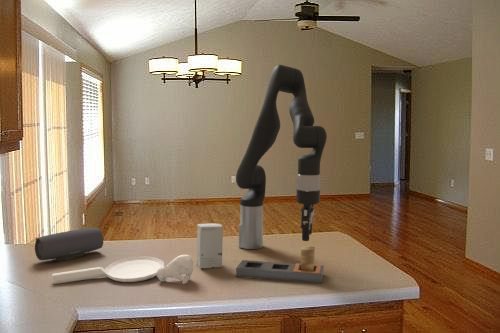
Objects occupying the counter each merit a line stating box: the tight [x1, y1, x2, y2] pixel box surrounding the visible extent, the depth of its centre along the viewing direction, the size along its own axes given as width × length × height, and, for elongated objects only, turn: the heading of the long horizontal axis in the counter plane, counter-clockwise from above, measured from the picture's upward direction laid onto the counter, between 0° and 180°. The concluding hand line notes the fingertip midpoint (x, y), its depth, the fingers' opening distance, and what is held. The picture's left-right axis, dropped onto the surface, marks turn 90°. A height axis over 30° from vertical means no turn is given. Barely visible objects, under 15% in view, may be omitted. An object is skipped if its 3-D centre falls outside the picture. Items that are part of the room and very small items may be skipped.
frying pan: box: [51, 255, 165, 285], centre depth 155 cm, size 35×19×5 cm, turn 110°
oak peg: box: [300, 245, 316, 271], centre depth 154 cm, size 4×4×10 cm
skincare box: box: [196, 222, 224, 270], centre depth 166 cm, size 8×6×15 cm
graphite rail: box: [235, 259, 325, 284], centre depth 157 cm, size 28×9×3 cm, turn 77°
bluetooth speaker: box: [34, 227, 104, 261], centre depth 176 cm, size 23×9×10 cm, turn 135°
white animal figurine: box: [156, 254, 194, 285], centre depth 151 cm, size 6×8×12 cm
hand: (307, 237), depth 153 cm, fingers open, 8 cm apart
